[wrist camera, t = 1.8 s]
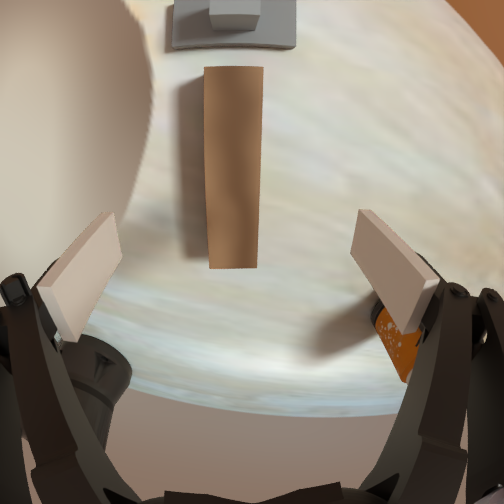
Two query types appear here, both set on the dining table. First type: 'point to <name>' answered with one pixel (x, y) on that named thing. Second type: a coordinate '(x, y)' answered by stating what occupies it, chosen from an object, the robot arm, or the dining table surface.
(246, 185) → the walnut bar
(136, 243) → the dining table surface
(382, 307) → the canister
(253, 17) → the fulcrum
